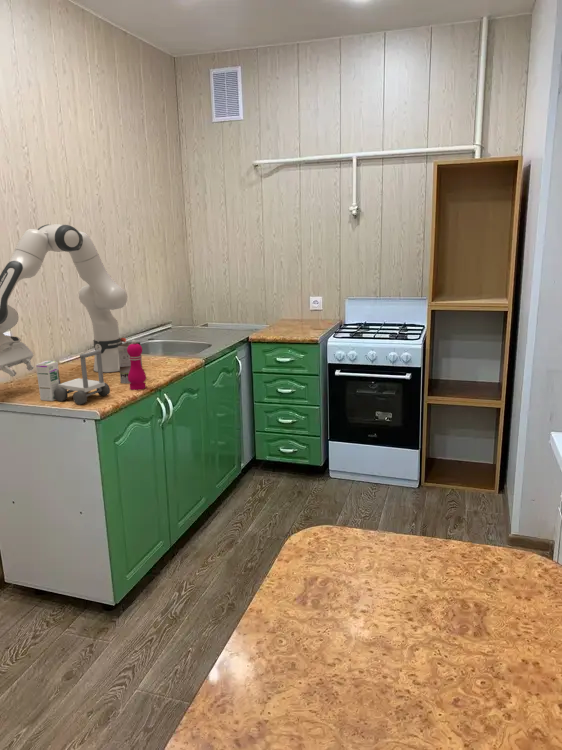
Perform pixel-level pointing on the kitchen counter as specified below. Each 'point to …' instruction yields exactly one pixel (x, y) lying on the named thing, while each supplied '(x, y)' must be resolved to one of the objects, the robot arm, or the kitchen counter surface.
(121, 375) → the coffee box
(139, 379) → the pepper mill
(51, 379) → the syrup box
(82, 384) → the hand trolley
